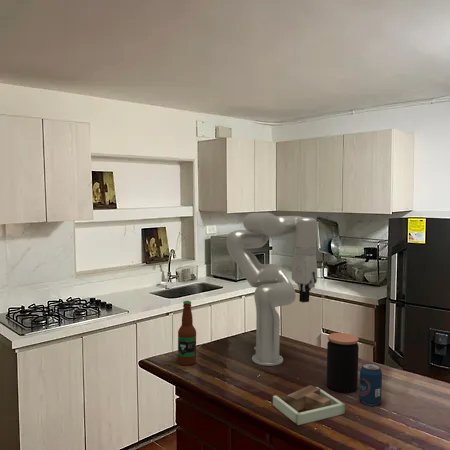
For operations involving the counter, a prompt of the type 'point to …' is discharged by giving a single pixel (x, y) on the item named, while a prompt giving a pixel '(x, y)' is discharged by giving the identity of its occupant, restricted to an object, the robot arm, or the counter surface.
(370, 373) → the soda can
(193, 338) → the bottle
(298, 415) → the frame
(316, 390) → the t block
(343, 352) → the coffee jar
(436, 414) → the counter surface
